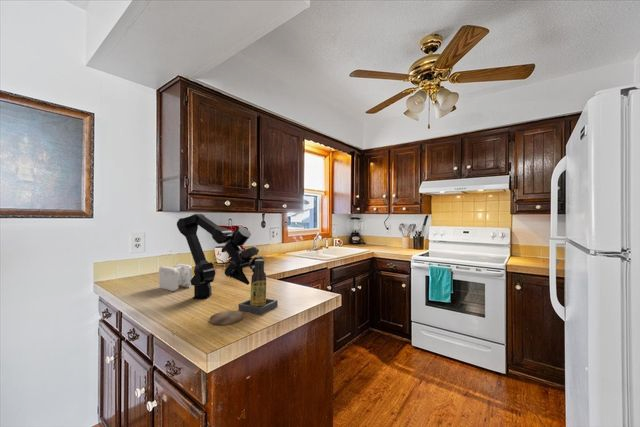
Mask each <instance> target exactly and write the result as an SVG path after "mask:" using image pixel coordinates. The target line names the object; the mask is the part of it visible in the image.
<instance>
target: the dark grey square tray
mask: <svg viewBox="0 0 640 427" xmlns="http://www.w3.org/2000/svg"><path fill="white" fill-rule="evenodd" d="M278 306H279V305H278V299H273V298H267V297H266V304H265V306H262V307H260V308H259V307H254V306H251V305H250V299H248V300H245V301H243V302H240V303H239V304H238V311H239V312H243V313H244V312H245V313H249V314H255V315H259V316H261V315H263V313H264V314H265V313H268V312H269V311H271V310H273V309H275V308H277V307H278Z"/></svg>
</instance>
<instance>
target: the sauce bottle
mask: <svg viewBox="0 0 640 427" xmlns="http://www.w3.org/2000/svg"><path fill="white" fill-rule="evenodd" d="M254 263H255V269H254V270H255V271H254V272H252V273H253V274H252V275H251V279H250V280H251V282H250V299H249V300H250V305H251V306H254V307H259V308H260V307H262V306H265V304H266V298H267V274H266V272H265V259H264V260H262V259H257V260H255V261H254Z"/></svg>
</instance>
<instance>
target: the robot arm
mask: <svg viewBox="0 0 640 427" xmlns="http://www.w3.org/2000/svg"><path fill="white" fill-rule="evenodd" d="M199 226H200V228H202V229H204V230H205V231H206V232H208V233H209V234H210V236H211V237H212V240H214V242H215V243H216V244H219V245H220V244H225V245H223V246H222V248H221V250H220V251H221V253H226V254H228V256H229V257H230V259H229V262H230V263H229V264H228V265H227V267H225V269H224V275H225V276H226V277H229V278H233V279H234V280H237V281H238V282H241V283H243V284H245V285H247V286H248V285H250V280H249V279H248V278H247V276H246V275H245V273H244V271H243V269H246V268H250V270H251V272H252V273H254V271H255V270H254V269H255V263H254V261H255V260H257V259H262V260H264V261H265V259H264V258H263V256H257V255H258V254H259V250H260V248H258V247H257V246H256V245H253V246H252V247H251V246H250V247H248V248H246V249H242V246H244V245H245V244H246V243H247V241H248V240H249V239H250V238H251V236H252V233H251V231H250V230H248V229H247V228H245V227H243V226H242V225H237V227H236V229H235V230H234V231H232V230H231V229H230V228H229V229H228V228H227V227H226V228H225V227H222V226H220V225H218V224H217V223H215V222H213V221H212V220H211V219H209V218H208V217H206V216H205V215H204V214H202V213H194V214H191V215H190V216H186V217H183V218H182V217H181V218H179V219H178V220H177V222H176V227H177V229H178V231H179V233H180V234H181V235H182V236H183V237H184V238H186V242H187V245H188V248H189V250H190V253H191V256H192V259H193V262H194V270H193V273H194V275H193V276H192V279H191V285H192V286H194V288H193V289H194V296H193V297H192V299H193V300H196V299H197V300H200V299H203V300H204V299H208V298H210V296H212V295H213V294H212V285H211V283H213V282H214V280H215V276H216V269H215V266H214V263H213V262H210V261H208V260H207V258H206V256H205V253H204V249H203V247H202V245H201V241H200V240H199V236H198V234H197V232H198V229H199ZM254 256H256V257H254Z"/></svg>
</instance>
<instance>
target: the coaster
mask: <svg viewBox="0 0 640 427" xmlns="http://www.w3.org/2000/svg"><path fill="white" fill-rule="evenodd" d="M244 315H245V314H244V312H243V311H239V310H225V311H220V312H217V313H214V314H212V315H211V316H210V317H209V323H210V324H211V325H214V326H229V325H233V324H237V323H239V322H241V321H242V320H243V319H244V318H245V316H244Z"/></svg>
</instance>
